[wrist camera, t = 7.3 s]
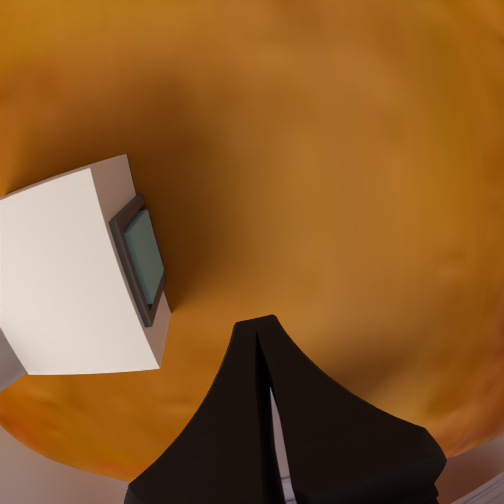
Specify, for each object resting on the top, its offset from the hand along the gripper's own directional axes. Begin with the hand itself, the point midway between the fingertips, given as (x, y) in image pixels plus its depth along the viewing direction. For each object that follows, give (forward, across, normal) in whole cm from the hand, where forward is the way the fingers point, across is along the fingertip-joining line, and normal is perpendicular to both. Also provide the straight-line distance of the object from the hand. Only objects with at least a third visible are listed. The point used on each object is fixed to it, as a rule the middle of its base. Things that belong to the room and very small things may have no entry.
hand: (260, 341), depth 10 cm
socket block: (+10, +11, -1) cm, 15 cm away
